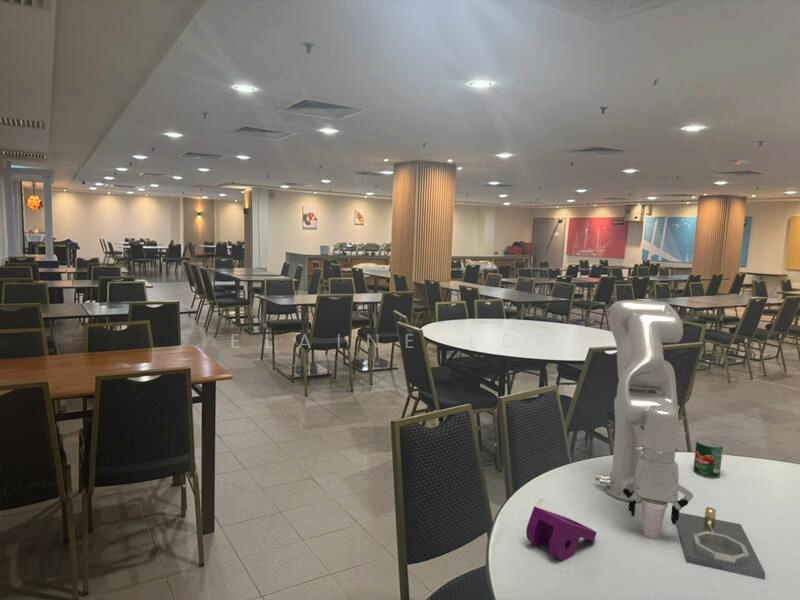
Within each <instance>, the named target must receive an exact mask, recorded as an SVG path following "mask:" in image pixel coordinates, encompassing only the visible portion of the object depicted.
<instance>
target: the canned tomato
mask: <svg viewBox="0 0 800 600" xmlns="http://www.w3.org/2000/svg"><path fill="white" fill-rule="evenodd" d="M723 448H724V444H723V443H722V442H720V441H718V440H714V439H709V438H697V439H696V444H695V453H694V460H693V473H694V475H697V476H700V477H702V478H706V479H712V480H713V479H714V480H715V479H719V478H720V475H721V468H722V467H721V466H722V458H723V450H724V449H723Z"/></svg>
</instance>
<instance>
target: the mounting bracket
mask: <svg viewBox="0 0 800 600" xmlns="http://www.w3.org/2000/svg"><path fill="white" fill-rule="evenodd" d="M525 531H526V532H525V534H526V538H527V541H529V542H530V543H532V544H533V545H535V546H537V547H539V548H540V547H542V546H545V545H547V544H548V545H549V546H548V547H549V552H550V554H551V556H553V557H555V558H557V559H559V560H561V561H562V562H563V561H566V560H568V559H569V558H571V557H572V556H573V555H574V554H575V552H576V550H577V547H578V544H579V541H580V539H581V538H582V539H585V540H589V541H593V542H594V541H595V539H596V536H597V534H598V533H597V531H595V530H594V529H592V528H589V527H588V526H586V525H584V524H583V523H579V522H578V521H576V520H573V519H571V518H569V517H566V516H563V515H560V514H559V513H555V512H552V511H548V510H546V509H544V508H540V507H537V506H533V509H532V511H531V515H530V517H529V519H528V523H527V526H526V529H525Z"/></svg>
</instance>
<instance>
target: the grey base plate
mask: <svg viewBox="0 0 800 600" xmlns="http://www.w3.org/2000/svg"><path fill="white" fill-rule="evenodd" d="M704 511H705V512H704V516H700V515H696V514H690V513H684V512H680V511H679V519H678V521H677V520H676V524H675V525H676V528H677V533H678V536H679V539H680V542H681V543H680V544H681V547H682V551H683V554H684V558H685V562H686V563H689V564H694V565H698V566H702V567H703V566H704V567H707V568H713V569H717V570H722V571H725V572H732V573H733V574H734V573H735V574H739V575H745V576H749V577H754V578H758V579H762V580H765V578H766V572H765V570H764V568H763V566H762V564H761V561H759V558H758V556H757V554H756V552H755V550H754V548H753V546H752V543H751V541H750V540H749V538H748V536H747V534H746V532H745V531H744V528H743V526H742V525H741V524H740V523H737V522H732V521H726V520H725V521H724V520H720V519H716V516H717V515H716V514H717V510H716V509H715V508H713V507H705V510H704Z"/></svg>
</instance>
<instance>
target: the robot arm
mask: <svg viewBox="0 0 800 600" xmlns="http://www.w3.org/2000/svg"><path fill="white" fill-rule="evenodd" d="M608 314H609V315H608V319H609V326H610V329H611V333H612V335H613V339H614V341H615V344H616V363H617V365H616V366H617V378H618V383H617V388H616V396H615V398H614V402H613V404H614V405H613V406H614V407H613V408H614V409H613V410H614V421H615V424H614V425H615V426H614V427H615V428H614V442H613V443H614V444H613V453H612V465H611V466H612V467H611V472H610V473H609V475H608V474H606V475H603V474H599V473H595V481H599V484H600V485H601V484H603V485H604V490H605V492H606V493H607V494H609V495H610V496H611V497H612V498H613V497H614V498H615V499H617V500H621V501H623V502H628V512H630V515H631V517H635V515H636V503H642V502H641V498H646V499H651V500H656V501H661V502H667V503H668V504H672V506H671V513H670V514H671V516H670V519H671V524H672V525H673V526H675V525H676V520H677V521H678V519H679V512H680V511H681V510H682V508H684V507H686V506H688V505H689V503H690V502H691V500H692V499H693V497H694V493H693V492H691V491H690V490H688V489H687V488H685V487H684V486H682V485H680V484H679V479H680V478H679V477H680V476H679V466H678V462H677V461H676V460H675V458H676V448H677V447H676V446H677V436H678V427H679V418H680V417H679V408H678V407H679V406H678V393H677V381H676V373H675V369H674V367H673V365H672V363H670V362H669V361H667V360H666V359H665V358H664V350H663V349H664V348H663V343H668V344H669V343H671V344H675V343H676V344H677V343H678V342H680V341H681V340H682V337H683V334H684V326H683V321H682V319H681V317H680V315H679V314H678V312H676V310H675V309H674V308H673V307H672V306H671V305H670V304H669V303H668V302H663V301H651V300H649V301H647V300H635V299H625V300H618V301H615V302H613V303H612V304H611V305H610V309H609V313H608ZM630 389H635V390H646V391H648V390H649V391H655V393H652V392H651V393H650V392H649V393H648V392H641V391H639V392H638V391H630ZM642 427H644V429H642ZM679 492H680V493H681V494H682V495H684V496H683V497H682V498H681V499H679V500H678V498H679Z"/></svg>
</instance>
